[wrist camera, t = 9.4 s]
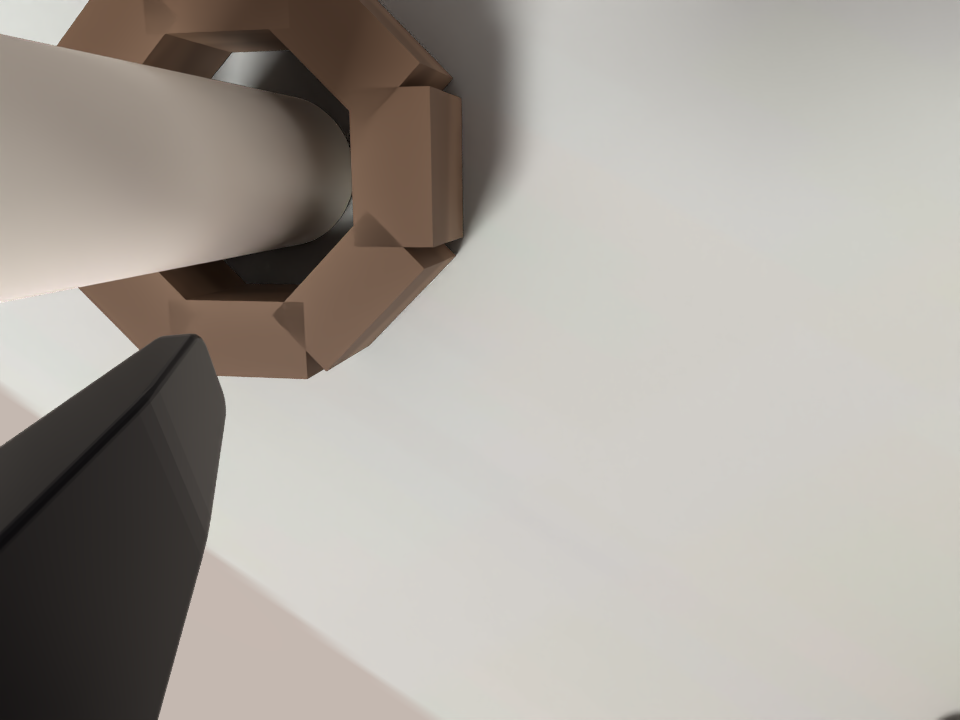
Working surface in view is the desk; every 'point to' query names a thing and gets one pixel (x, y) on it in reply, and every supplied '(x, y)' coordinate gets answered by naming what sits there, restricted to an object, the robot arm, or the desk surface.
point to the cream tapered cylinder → (151, 169)
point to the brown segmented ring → (374, 166)
